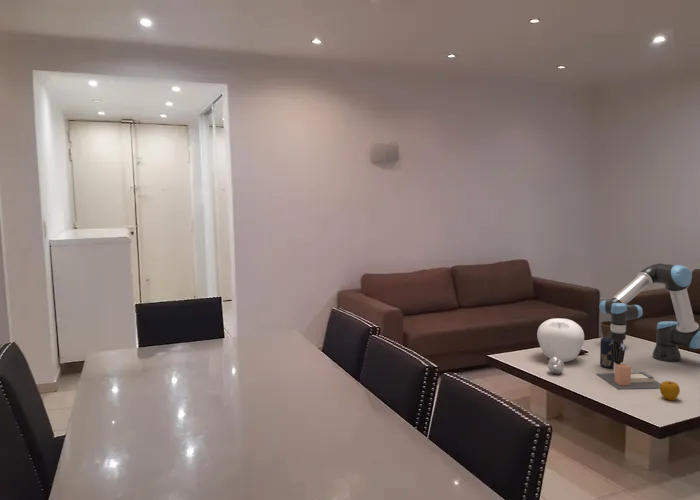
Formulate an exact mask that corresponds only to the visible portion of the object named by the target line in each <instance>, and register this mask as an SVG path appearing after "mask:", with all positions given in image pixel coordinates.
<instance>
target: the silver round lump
mask: <svg viewBox="0 0 700 500" xmlns="http://www.w3.org/2000/svg"><path fill="white" fill-rule="evenodd" d="M565 367H566V366H565V362H563V361H562V360H560V359H558V358H557V357H552V358H549V360H548V365H547V368H548V370H549V371H550V372H551V373H552V374H555V375H558V374H561V373H564V371H565V369H566V368H565Z"/></svg>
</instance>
